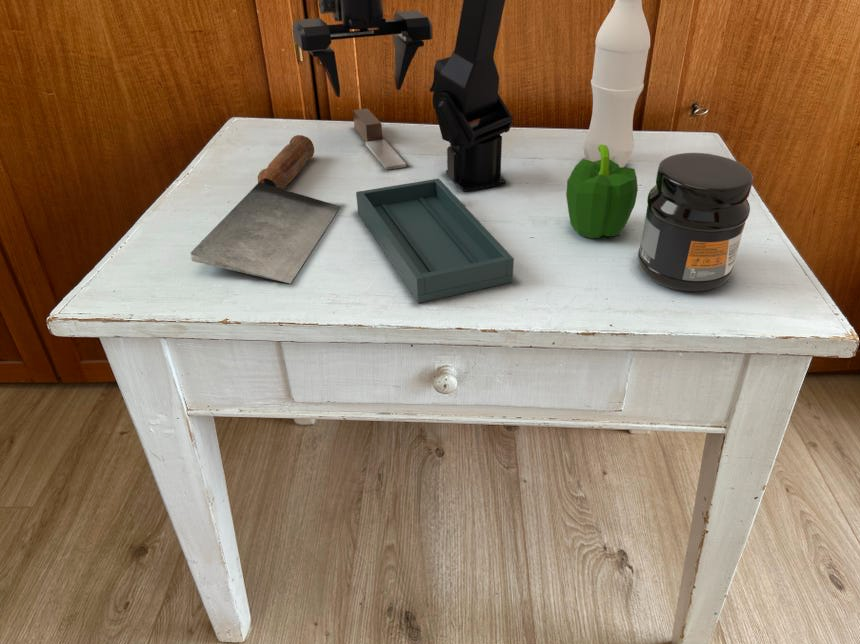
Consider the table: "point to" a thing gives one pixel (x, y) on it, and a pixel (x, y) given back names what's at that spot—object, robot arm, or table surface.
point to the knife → (376, 139)
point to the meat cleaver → (270, 223)
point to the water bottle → (617, 81)
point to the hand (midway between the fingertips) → (368, 92)
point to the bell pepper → (600, 196)
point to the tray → (433, 240)
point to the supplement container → (694, 221)
